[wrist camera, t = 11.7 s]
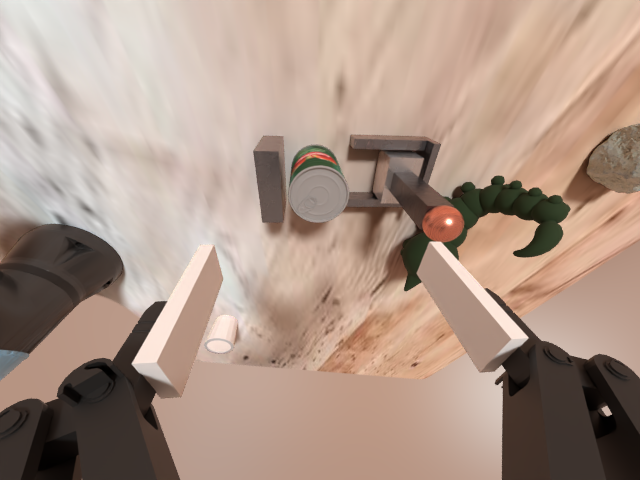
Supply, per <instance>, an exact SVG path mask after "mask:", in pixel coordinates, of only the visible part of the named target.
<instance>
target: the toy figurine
mask: <svg viewBox="0 0 640 480" xmlns="http://www.w3.org/2000/svg"><path fill="white" fill-rule="evenodd" d="M504 182H505V181H504V177H502V176H494V178H493V179H492V180H491V184H492V185H490V186H487V187H485V188H484V189H475V186H474V185H473V183H472V182H466V183H464V184H463V185H462V187H461V190H462V192H463V193H464V194H463V195H462V196H461V197H458V198H454V199H450V198H449V197H444V198H445V199H446V200H447V201H449V202H450V203H451V204H452V205H453V206H454V208H455V209H457V210H458V211H459V212H460V213H461V214H462V216H463V219H464V228H463V230H462V232H461V234H460V235H459V236H458V237H457V238H455V239H454V240H452V241H449V242H442V244H443V245H444V246H445V247H446V248H447V249H448V250H449V251H450V252H451V253H452V254H453V256H454V257H455V258H456V259H457V260H459V256H458V251H457V247H459V246H460V245H461V244H462V243H463V242H464V240H465V238H466V236H467V230H468V229H470V228H471V227H473V226H474V225H475V224H476V223H477V221H478V219H479V218H480V217H483V216H485V215H487V214H488V213H499V212H501V213H503V214H505V215H516V216H517V217H519V218H521V219H523V220H534V221H536V222H537V223H539V224H540V225H539V226H538V227H537V229H536V231H535V235H534V238H533V240H532V241H531V242H530V244H529V245H527V246H526V247H525V248H523V249H521V250H517V251H514V252H513V254H514V255H515V256H517V257H534V256H538V255H542V254H544V253H546V252H548V251H550V250H551V249H552V248H554V247H555V246H556V245H557V244H558V243H559V241H560V240H561V239H562V236H563V230H562V227H561V226H560V225H559V224H557V223H560V222H562V221H563V220H564V219H565V218H566V217H567V215H568V212H569V211H570V207H569V206H568V205H566V204H565V203H564V202H563V200H562V198H561V196H558V195H553V196H550V197H549V198H548V197H547V196H546V195H545V194H542V191H541V190H540V189H539V188H532V189H530V190H529V191H527V190H525V189H524V188H521V187H522V183H521V182H520V181H517V180H516V181H512V182H511V183H510V184H505V185H503V184H504ZM429 242H436V241H433V240H431V239H430V238H428V237H427V236H426V234H425V233H420V234H418V235H416V236H414V237H413V238H411V239H408V240H406V241H405V242H404V243H403V248H404V249H402V250H401V252H400V253H401V255H402V258H403V262H404V265H405V268H406V269H407V271H408V276H407V279H406V283H405V287H404V291H408V290H410V289H411V288H413V287H415V286H416V285H418V284H419V283H421V282H422V281H421V280H420V278H419V277H418V275H417V271H418V269H419V266H420V264H421V261H422V259H423V256H424V254H425V251H426V249H427V246H428V244H429Z"/></svg>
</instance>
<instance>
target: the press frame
mask: <svg viewBox="0 0 640 480" xmlns="http://www.w3.org/2000/svg"><path fill="white" fill-rule="evenodd" d="M350 145H351V146H352V148H353V149H381V150H415V153H416V154H418V155H420V156H421V157H423V158H424V160H423V164H422V167H421V170H420V174H419V178H421V179H422V180H423V181H424V182H425V183H427V184H428V182H429V179H430V176H431V173H432V170H433V167H434V164H435V161H436V158H437V155H438V152H439V149H440V146H441V144H440V143H438V142H436V141H433V140H431V139H429V138H427V137H416V136H380V135H351V139H350ZM253 152H254V160H255V167H256V175H257V183H258V191H259V199H260V207H261V214H262V222H283V221H284V212H285V204H286V178H285V159H284V140H283V136H263V137H262V139H261V140H260V142H259V143H258V145H257V146H256V148H255V149H254V151H253ZM346 206H347V207H402V206H401V205H400V204H396V203H380V202H379V200H378V198H377V197H376V195H375V194H374V193H372V192H349V199H348V203H347V205H346Z"/></svg>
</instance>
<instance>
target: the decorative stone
mask: <svg viewBox="0 0 640 480" xmlns="http://www.w3.org/2000/svg"><path fill="white" fill-rule="evenodd" d="M587 174H588V175H589V176H590V178H591V179H592V180H594V181H595V182H597V183H599V184H602V185H603V186H605V187H607V188H609V189H611V190H613V191H615V192H618V193H633V192H638V191H640V124H636V125H630V126H629V127H624V128H622V129H620V130H618V131H617V132H614V133H613V134H612V135H611V136H610V137H609V138H608V140H607V141H605V142H604V143H602V144H601V145H599V146H598V147H597V148H596V149H595V150H594V151H593V153H592V155H591V156H590V158H589V165H588V167H587Z"/></svg>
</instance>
